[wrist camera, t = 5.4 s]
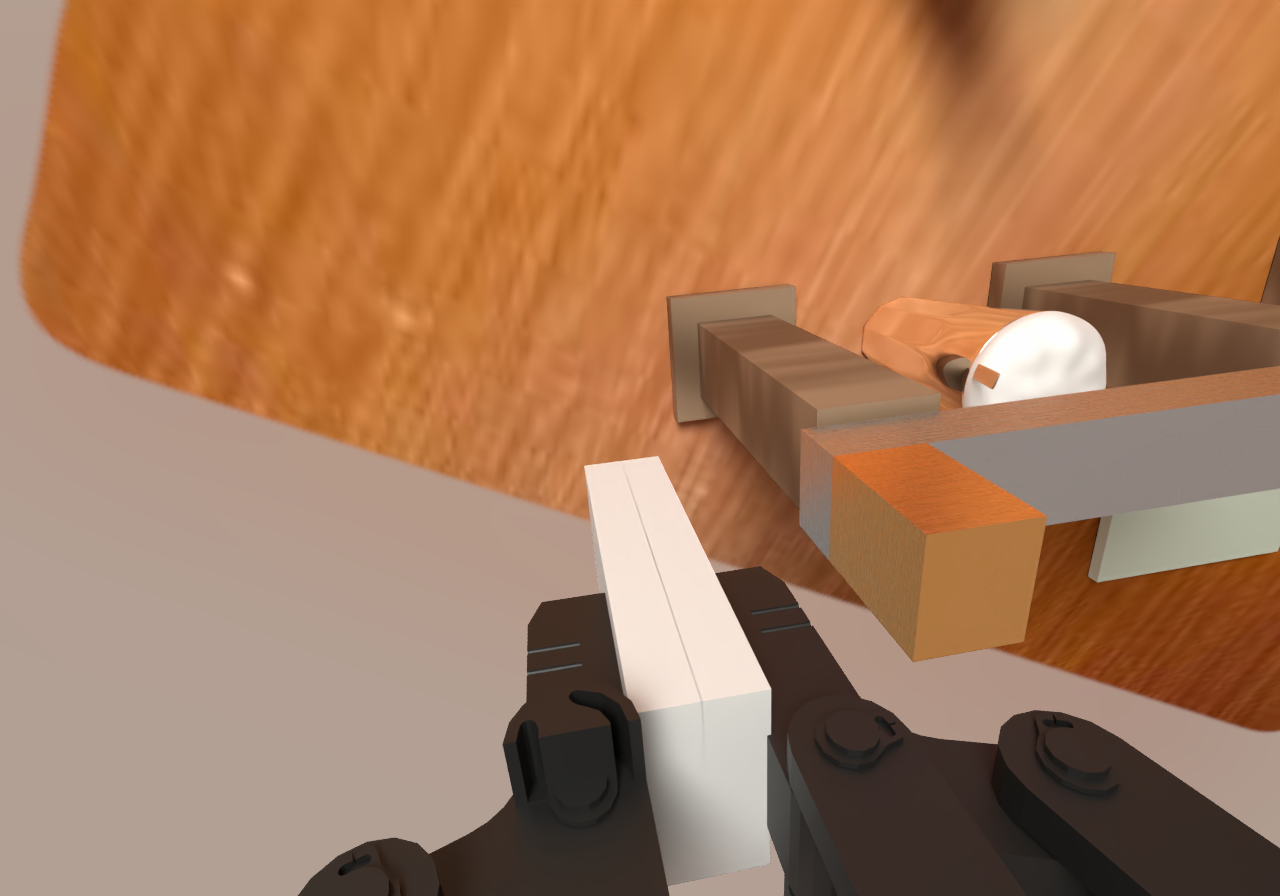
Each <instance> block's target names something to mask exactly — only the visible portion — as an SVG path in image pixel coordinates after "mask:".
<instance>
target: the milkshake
mask: <svg viewBox="0 0 1280 896" xmlns="http://www.w3.org/2000/svg"><path fill="white" fill-rule="evenodd" d="M862 351H863V353H864V354H865V356H866V357H867V359H868V360H870V361H872V362H874V363H876V364H878V365H881V366H883V367H885V368H887V369H889V370H891V371H893V372H896V373H898V374H900V375H902V376H904V377H906V378H909V379H911V380H913V381H915V382H917V383H919V384H921V385H924V386H926V387H928V388H930V389H932V390H934V391H937V392H939V393H941V400H940V409H939V411H943V410H951V409H958V408H966V407H973V406H981V405H989V404H996V403H1004V402H1011V401H1019V400H1026V399H1034V398H1041V397H1049V396H1056V395H1064V394H1071V393H1079V392H1086V391H1094V390H1102V389H1105V388H1106V350H1105V345H1104V342H1103V340H1102V338H1101V336H1100V334H1099V333H1098V331H1097V330H1096V329H1095V328H1094V327H1093V326H1092V325H1091V324H1089V323H1088V322H1086V321H1085V320H1083V319H1081V318H1079V317H1076V316H1074V315H1071V314H1068V313H1064V312H1059V311H1042V310H1028V309H1014V308H1001V307H987V306H977V305H968V304H959V303H951V302H942V301H934V300H925V299H917V298H908V297H900V298H898V299H896V300H893V301H891V302H888V303H886V304H884V305H881V306H879V307H878V309H877V310H876V311H875V313H874V314H873V315H872V317H871V318H870V320H869V321H868V322H867V324H866V325H865V326H864V334H863V345H862Z"/></svg>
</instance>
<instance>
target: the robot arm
mask: <svg viewBox="0 0 1280 896" xmlns="http://www.w3.org/2000/svg"><path fill="white" fill-rule="evenodd" d="M584 468H585V477H586V485H587V494H588V502H589V511H590V519H591V527H592V536H593V544H594V553H595V561H596V569H597V578H598V585H599V591H600V593H599V594H593V595H586V596H580V597H573V598H567V599H560V600H554V601H547V602H542V603H541V604H540V606H539V608H538V609H537V611H536V613H535V614H534V616H533V618H532V619H531V621H530V623H529V624H528V645H527V651H528V655H527V673H528V674H527V675H528V676H527V702H526V703H525V704H524V705H523V706H522V707H521V708H520V710H519V711H518V712H517V713H516V715H515V716H514V717H513V718H512V720H511V721H510V722H509V725H508V728H507V732H506V735H505V738H504V742H503V748H504V752H505V757H506V762H507V766H508V772H509V776H510V781H511V786H512V791H513V796H512V797H511V798H510V800H509V801H508V802H507V804H506V805H505V806H504V808H502V809H501V810H500V811H499V812H498V813H497V814H496V815H495V816H494V817H493V818H492V819H491V820H489V821H488V822H487V823H485V824H484V825H482V826H481V827H479V828H477V829H476V830H474V831H473V832H471V833H469V834H468V835H466V836H464V837H462V838H460V839H458V840H456V841H454V842H452V843H450V844H448V845H446V846H444V847H442V848H440V849H438V850H436V851H434V852H432V853H430V854H428V853H427V852H426V851H425V850H424V849H423V848H422V847H421V846H420V845H419V844H418V843H414V842H410V841H406V840H402V839H398V838H389V839H382V840H376V841H370V842H366V843H364V844H362V845H360V846H357V847H355V848H353V849H351V850H349V851H347V852H345V853H343V854H341V855H339V856H337V857H336V858H335V859H334V860H333V861H331V862H330V863H329V864H328V865H326V866H325V867H324V868H323V869H322V870H321V871H319V872H318V873H317V874H316V875H314V876H313V877H312V878H311V879H310V880H309V882H308V883H307V884H306V886H305V887H304V888H303V890H302V891H301V892H300V894H299V895H298V896H669V892H668V886H670V885H675V884H679V883H684V882H689V881H693V880H698V879H703V878H707V877H712V876H717V875H721V874H726V873H731V872H735V871H740V870H745V869H750V868H754V867H759V866H764V865H769V864H770V836H771V838H772V841H773V843H774V846H775V849H776V852H777V854H778V857H779V860H780V862H781V865H782V868H783V871H784V873H785V881H784V896H1280V848H1279V847H1277V846H1276V845H1274V844H1273V843H1271V842H1270V841H1269V840H1267V839H1265V838H1264V837H1263V836H1261V835H1260V834H1258V833H1257V832H1255V831H1254V830H1253V829H1251V828H1250V827H1248V826H1247V825H1245V824H1244V823H1242V822H1241V821H1240V820H1238V819H1236V818H1235V817H1234V816H1232V815H1231V814H1229V813H1228V812H1226V811H1225V810H1224V809H1222V808H1221V807H1219V806H1218V805H1216V804H1215V803H1213V802H1212V801H1211V800H1209V799H1208V798H1206V797H1205V796H1203V795H1202V794H1200V793H1199V792H1198V791H1196V790H1194V789H1193V788H1192V787H1190V786H1189V785H1187V784H1186V783H1184V782H1183V781H1182V780H1180V779H1179V778H1177V777H1176V776H1174V775H1173V774H1171V773H1170V772H1168V771H1167V770H1166V769H1164V768H1162V767H1161V766H1160V765H1158V764H1157V763H1155V762H1154V761H1153V760H1151V759H1149V758H1148V757H1147V756H1145V755H1144V754H1142V753H1141V752H1140V751H1138V750H1137V749H1135V748H1134V747H1132V746H1130V745H1129V744H1128V743H1126V742H1125V741H1124V740H1122V739H1121V738H1119V737H1117V736H1116V735H1114V734H1112V733H1110V732H1108V731H1106V730H1105V729H1103V728H1101V727H1099V726H1098V725H1096V724H1094V723H1092V722H1090V721H1087V720H1083V719H1080V718H1077V717H1074V716H1071V715H1067V714H1065V713H1061V712H1049V711H1038V710H1034V711H1030V712H1026V713H1021V714H1017V715H1014V716H1013V717H1011V718H1010V719H1009V720H1008V721H1007V722H1006V723H1005V724H1004V725H1002V726H1001V729H1000V735H999V740H998V744H987V743H977V742H966V741H955V740H944V739H937V738H932V737H926V736H921V735H918V734H915V733H912V732H911V731H910V730H909V729H908V728H907V727H906V726H905V725H904V724H903V723H902V722H901V721H900V720H899V719H898V718H897V717H896V716H895V715H894V714H893V713H892V712H890V711H888V710H886V709H885V708H883V707H881V706H879V705H877V704H875V703H874V702H872V701H868V700H864V699H861V698H860V696H859V695H858V694H857V692H856V691H855V689H854V687H853V686H852V684H851V683H850V682H849V680H848V678H847V677H846V675H845V674H844V672H843V671H842V669H841V668H840V666H839V665H838V663H837V662H836V660H835V659H834V657H833V656H832V654H831V653H830V651H829V649H828V648H827V646H826V645H825V644H824V642H823V640H822V639H821V637H820V636H819V634H818V633H817V631H816V630H815V628H814V627H813V626H811V625H810V621H809V619H808V618H807V616H806V614H805V613H804V612H803V610H802V609H801V608H799V606H798V602H797V601H796V599H795V598H794V596H793V595H792V593H791V592H790V590H789V589H788V587H787V586H786V584H785V583H784V582H783V581H782V580H780V579H779V578H777V577H775V576H774V575H772V574H771V573H769V572H768V571H766V570H765V569H763V568H762V567H753V568H747V569H740V570H734V571H727V572H721V573H715V572H714V570H713V568H712V566H711V565H710V562H709V560H708V558H707V556H706V554H705V552H704V550H703V548H702V546H701V544H700V541H699V539H698V537H697V535H696V533H695V531H694V529H693V527H692V525H691V523H690V521H689V519H688V517H687V515H686V513H685V511H684V509H683V507H682V504H681V502H680V500H679V498H678V496H677V494H676V492H675V490H674V488H673V486H672V484H671V482H670V480H669V478H668V476H667V474H666V472H665V470H664V467H663V465H662V463H661V461H660V459H659V457H658V456H656V457H649V458H641V459H633V460H626V461H618V462H610V463H603V464H595V465H587V466H584Z"/></svg>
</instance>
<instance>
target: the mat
mask: <svg viewBox="0 0 1280 896" xmlns="http://www.w3.org/2000/svg"><path fill="white" fill-rule="evenodd" d="M1279 546H1280V488H1279V489H1273V490H1267V491H1261V492H1254V493H1248V494H1242V495H1236V496H1229V497H1223V498H1217V499H1210V500H1204V501H1198V502H1192V503H1185V504H1179V505H1173V506H1166V507H1160V508H1154V509H1148V510H1141V511H1135V512H1129V513H1122V514H1116V515H1110V516H1104V517H1101V520H1100V524H1099V529H1098V533H1097V537H1096V542H1095V546H1094V551H1093V555H1092V560H1091V564H1090V569H1089V573H1088V577H1090V578H1091V579H1093V580H1094V581H1096V582H1103V581H1109V580H1115V579H1120V578H1126V577H1132V576H1138V575H1144V574H1149V573H1155V572H1161V571H1167V570H1173V569H1178V568H1184V567H1190V566H1196V565H1202V564H1207V563H1213V562H1219V561H1225V560H1231V559H1236V558H1242V557H1248V556H1254V555H1260V554H1265V553H1271V552H1277V551H1278V548H1279Z"/></svg>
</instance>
